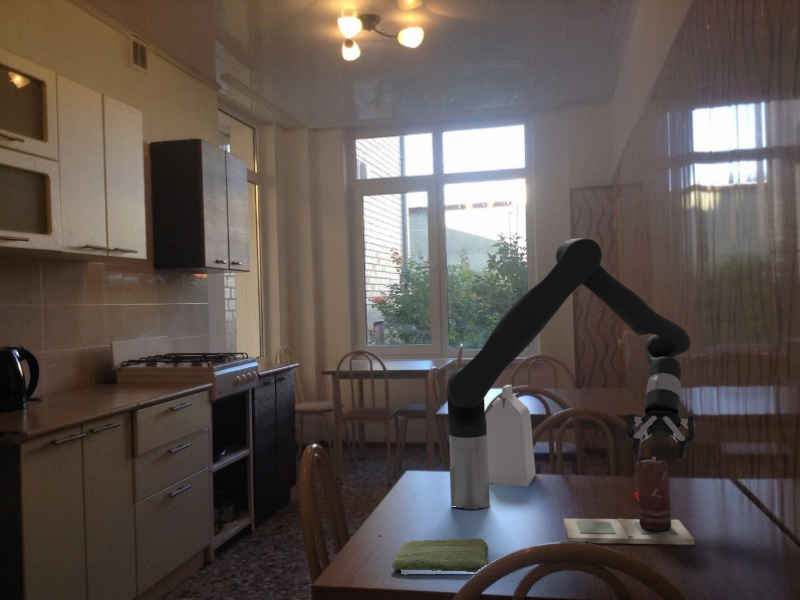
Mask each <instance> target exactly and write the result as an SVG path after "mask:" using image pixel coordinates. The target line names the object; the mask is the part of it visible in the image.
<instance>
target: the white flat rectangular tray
mask: <svg viewBox="0 0 800 600" xmlns="http://www.w3.org/2000/svg"><path fill="white" fill-rule="evenodd" d="M563 525H564V529H565V531H566V536H567V538H568V539H567V540H568V542H569V541H580V542H589V543H588V544H631V545H633V544H634V545H635V544H636V545H638V544H639V545H643V544H644V545H696V540H695V538H694V536H692V534H691V533H690V532H689V531H688V529H687V528H686V527H685V526H684V525H683V523H682V522H681V521H680V519H671V528H670V529H669V530H668V531H665V532H652V531H647V530H645V529H643V528H642V527H641V526H640V520H639V519H638V518H636V519H635V518H633V519H632V518H631V519H630V518H629V519H628V518H616V519H615V518H563Z"/></svg>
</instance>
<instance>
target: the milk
mask: <svg viewBox="0 0 800 600" xmlns="http://www.w3.org/2000/svg"><path fill="white" fill-rule="evenodd" d="M501 390H502V391H501V398H500V397H499V396H498V397H497V398H496V399H495V400H494V401H493V402H492V403H491V405H492V407H491V408H490V409H489V410H488V412H487V413H485V417H486V424H487V448H488V472H489V483H495V484H494V485H498V484H503V485H502V486H514V485H517V486H516V487H528V486H529V485H530V484H531V482H532V481H533V479H535V477H536V475H537V474H536V464H535V462H536V461H535V454H534V453H535V451H534V443H533V441H534V440H533V433H532V432H533V431H532V430H533V429H532V418H531V412H530V410H529V408H528V407H527V405H526V404H525V403H523V402H522V401H521V400H520V399H519V398H518V397H516V395H514V393H513V384H506V385H504V386H502V389H501ZM534 476H535V477H534Z"/></svg>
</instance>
